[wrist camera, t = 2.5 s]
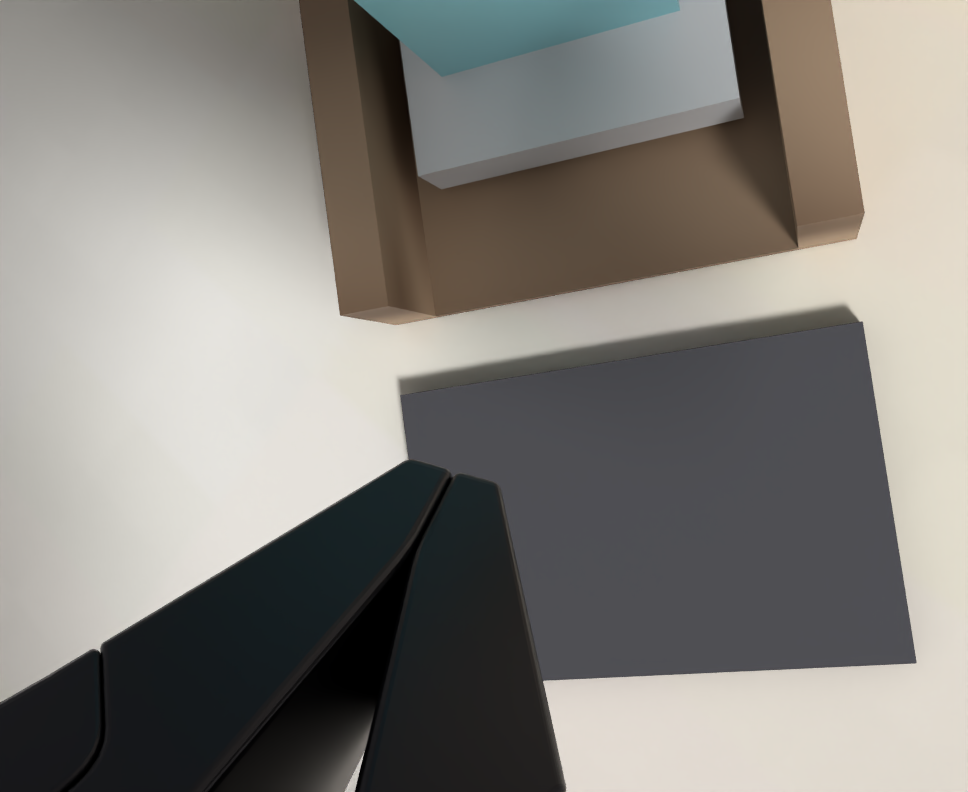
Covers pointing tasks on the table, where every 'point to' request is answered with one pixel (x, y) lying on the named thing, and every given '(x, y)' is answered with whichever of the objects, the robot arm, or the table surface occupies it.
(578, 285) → the track
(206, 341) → the table surface
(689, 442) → the dark gray rectangular plate
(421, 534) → the robot arm
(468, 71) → the blue pillar on plinth
